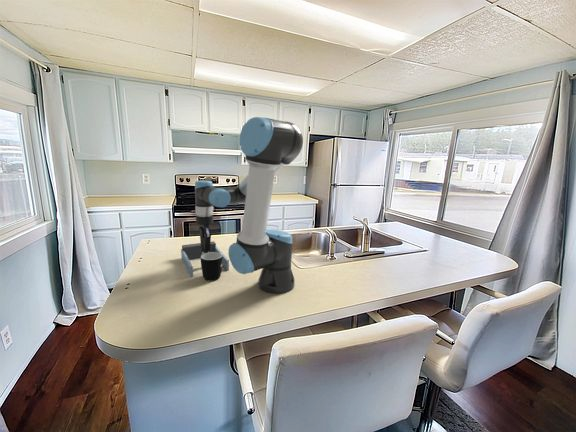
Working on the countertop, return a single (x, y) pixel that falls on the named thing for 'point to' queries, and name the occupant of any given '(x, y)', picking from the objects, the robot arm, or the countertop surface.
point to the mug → (211, 265)
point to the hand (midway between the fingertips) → (205, 263)
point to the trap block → (196, 250)
